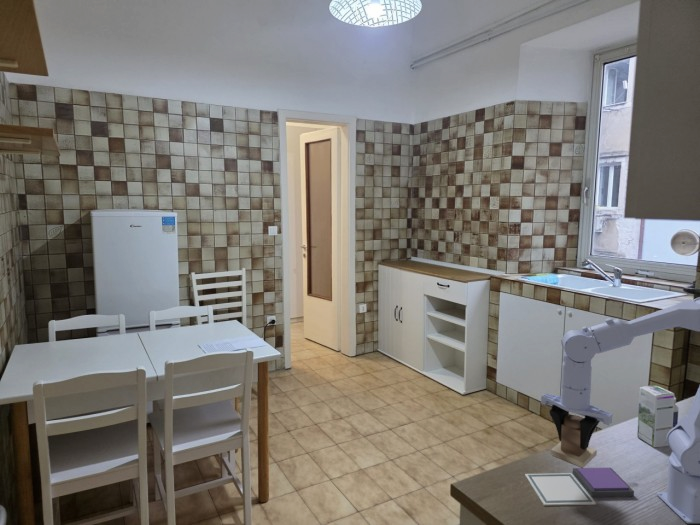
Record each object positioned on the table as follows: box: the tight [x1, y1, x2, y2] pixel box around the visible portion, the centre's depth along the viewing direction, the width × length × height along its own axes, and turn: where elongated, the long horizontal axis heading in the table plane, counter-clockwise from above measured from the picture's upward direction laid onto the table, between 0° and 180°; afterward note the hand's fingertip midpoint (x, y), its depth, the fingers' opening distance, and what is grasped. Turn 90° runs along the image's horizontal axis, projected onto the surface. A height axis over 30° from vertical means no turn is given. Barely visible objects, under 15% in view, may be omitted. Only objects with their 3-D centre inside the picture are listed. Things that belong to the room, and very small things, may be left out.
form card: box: [524, 472, 597, 506], centre depth 102 cm, size 11×11×1 cm
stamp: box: [550, 414, 598, 468], centre depth 102 cm, size 7×7×9 cm
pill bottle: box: [673, 396, 679, 428], centre depth 127 cm, size 5×5×10 cm
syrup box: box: [636, 384, 675, 448], centre depth 120 cm, size 6×6×14 cm
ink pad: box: [572, 467, 635, 498], centre depth 104 cm, size 9×9×2 cm
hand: (573, 443), depth 101 cm, fingers closed on stamp, 4 cm apart
